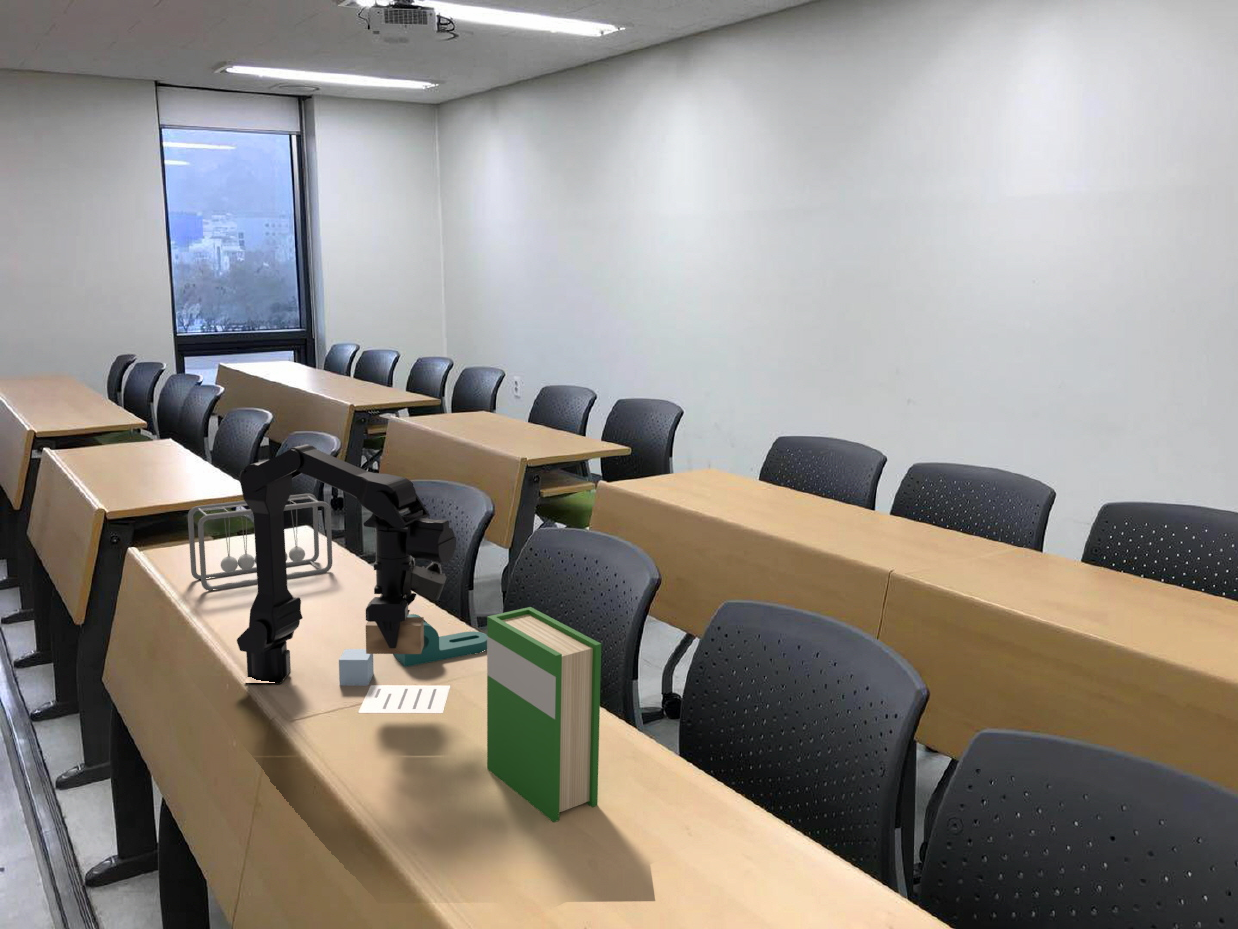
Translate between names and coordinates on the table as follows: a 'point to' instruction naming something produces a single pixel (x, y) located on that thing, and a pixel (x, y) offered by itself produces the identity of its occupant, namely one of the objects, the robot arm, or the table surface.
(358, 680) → the cube
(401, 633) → the walnut block
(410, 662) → the bracket
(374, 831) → the table surface
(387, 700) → the letter
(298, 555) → the newton's cradle
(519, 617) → the hardback book
